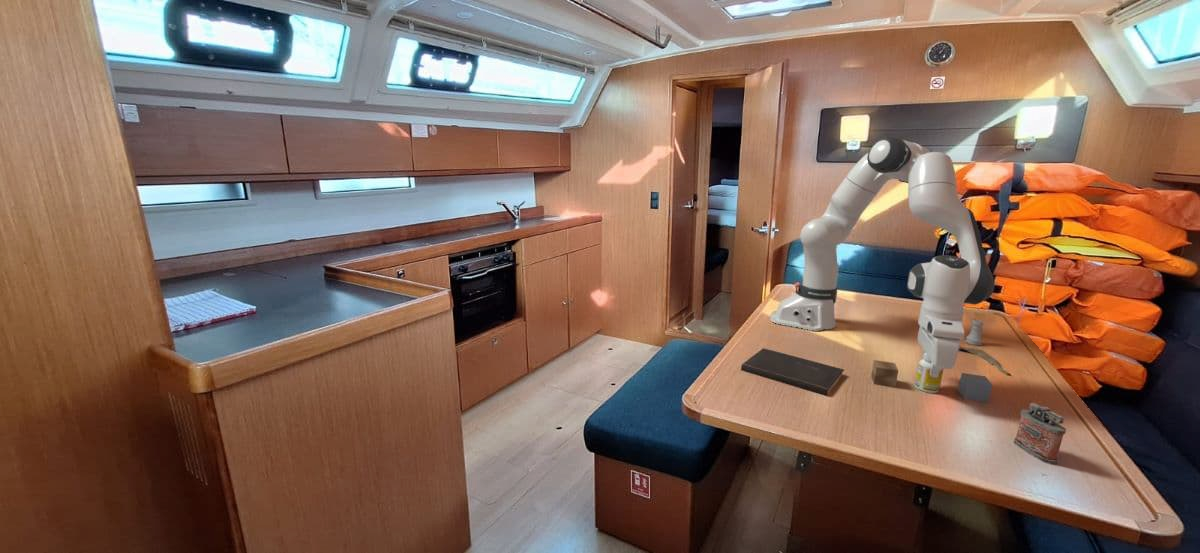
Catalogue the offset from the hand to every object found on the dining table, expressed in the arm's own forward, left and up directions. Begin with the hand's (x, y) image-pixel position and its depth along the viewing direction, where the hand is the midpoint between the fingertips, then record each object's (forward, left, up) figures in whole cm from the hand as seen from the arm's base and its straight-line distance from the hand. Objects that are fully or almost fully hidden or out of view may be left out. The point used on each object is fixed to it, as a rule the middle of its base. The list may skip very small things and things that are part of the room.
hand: (930, 370), depth 123 cm
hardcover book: (-33, -4, -6) cm, 34 cm away
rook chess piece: (+22, +44, -5) cm, 49 cm away
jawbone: (+19, +28, -6) cm, 34 cm away
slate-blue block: (+10, 0, -5) cm, 11 cm away
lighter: (+14, -24, -5) cm, 28 cm away
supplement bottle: (0, 0, -5) cm, 5 cm away
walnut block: (-10, 0, -5) cm, 11 cm away
